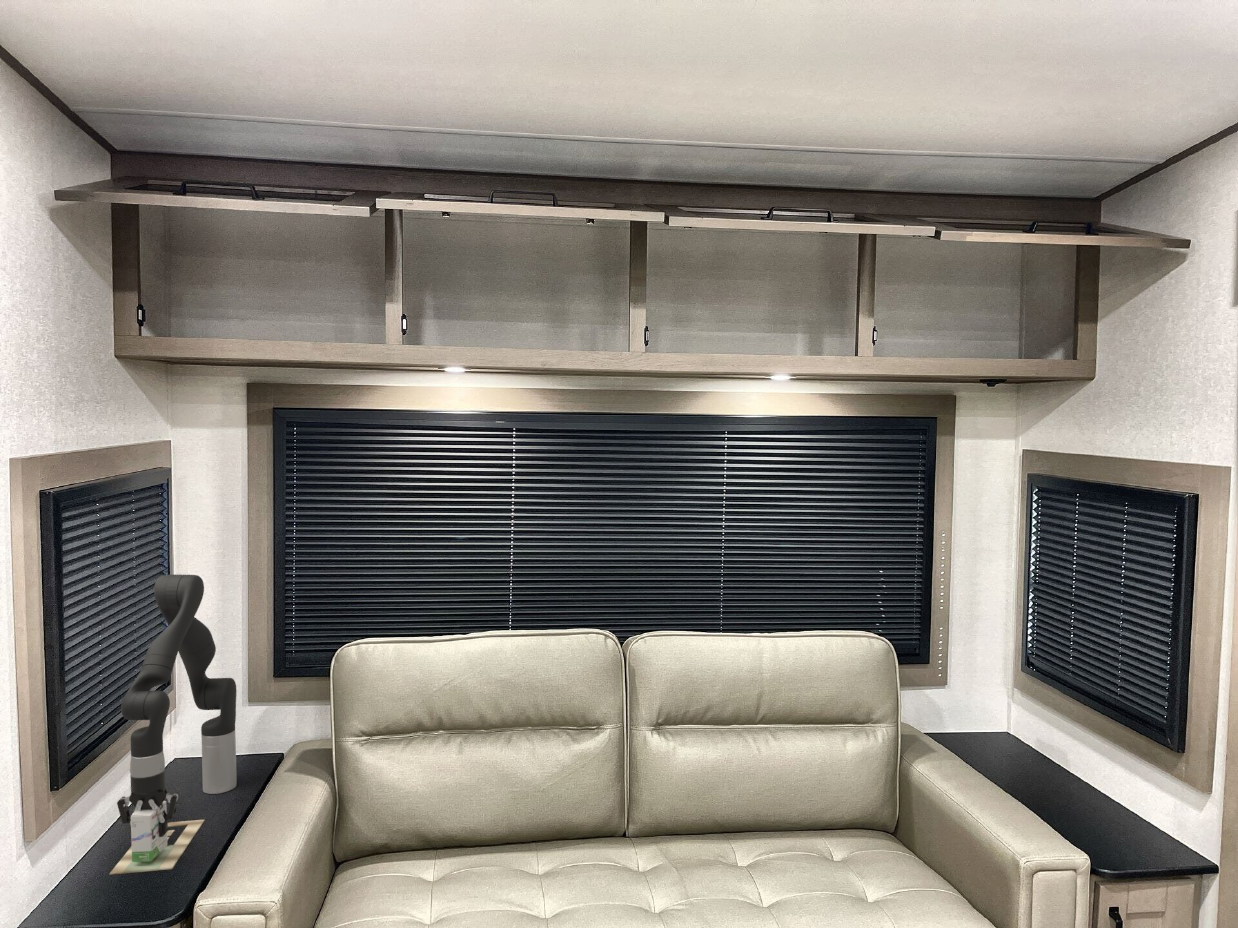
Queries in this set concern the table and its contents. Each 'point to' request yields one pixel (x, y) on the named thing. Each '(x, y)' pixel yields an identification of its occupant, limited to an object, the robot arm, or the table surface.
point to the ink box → (146, 835)
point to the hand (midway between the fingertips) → (149, 836)
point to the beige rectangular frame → (166, 856)
